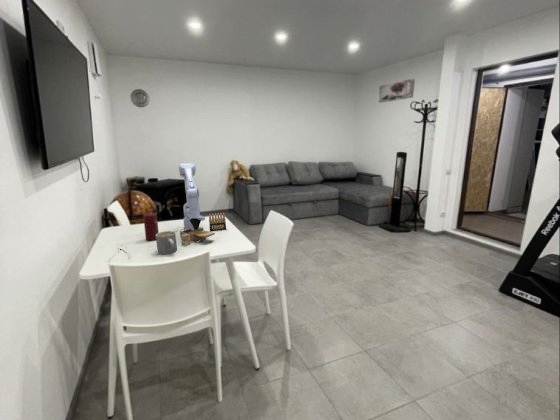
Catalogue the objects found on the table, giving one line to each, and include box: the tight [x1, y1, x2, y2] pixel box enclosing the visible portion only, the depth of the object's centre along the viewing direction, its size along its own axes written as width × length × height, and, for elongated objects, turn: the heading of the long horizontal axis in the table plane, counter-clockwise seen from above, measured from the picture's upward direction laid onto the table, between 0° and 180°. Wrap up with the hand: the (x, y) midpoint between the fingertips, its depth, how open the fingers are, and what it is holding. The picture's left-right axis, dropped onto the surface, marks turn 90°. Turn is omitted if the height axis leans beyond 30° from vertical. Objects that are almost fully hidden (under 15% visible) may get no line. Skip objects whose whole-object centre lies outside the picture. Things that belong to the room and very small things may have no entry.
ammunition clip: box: [208, 211, 227, 232], centre depth 195 cm, size 11×2×12 cm, turn 108°
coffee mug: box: [155, 230, 178, 256], centre depth 160 cm, size 13×10×10 cm
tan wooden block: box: [180, 233, 192, 247], centre depth 171 cm, size 4×4×6 cm
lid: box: [188, 227, 216, 239], centre depth 176 cm, size 15×8×3 cm, turn 56°
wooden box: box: [179, 229, 207, 243], centre depth 182 cm, size 14×8×4 cm, turn 56°
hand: (196, 230), depth 179 cm, fingers closed
